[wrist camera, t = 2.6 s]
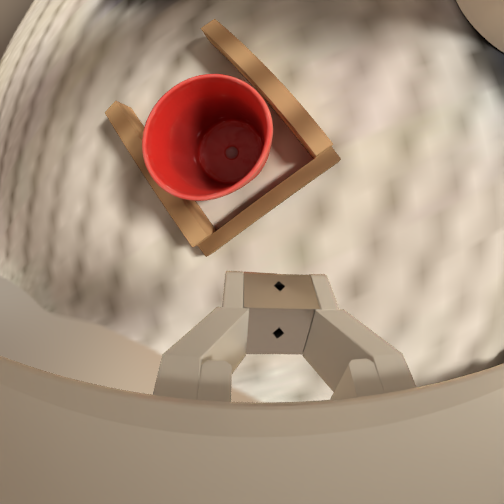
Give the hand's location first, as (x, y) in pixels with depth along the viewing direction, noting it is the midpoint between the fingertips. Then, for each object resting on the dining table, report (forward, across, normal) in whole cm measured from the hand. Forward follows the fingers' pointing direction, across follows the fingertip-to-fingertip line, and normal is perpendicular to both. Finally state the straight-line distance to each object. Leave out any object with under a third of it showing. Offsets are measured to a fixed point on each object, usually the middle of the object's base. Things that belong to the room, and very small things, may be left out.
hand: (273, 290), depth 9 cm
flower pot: (+25, +2, +1) cm, 25 cm away
